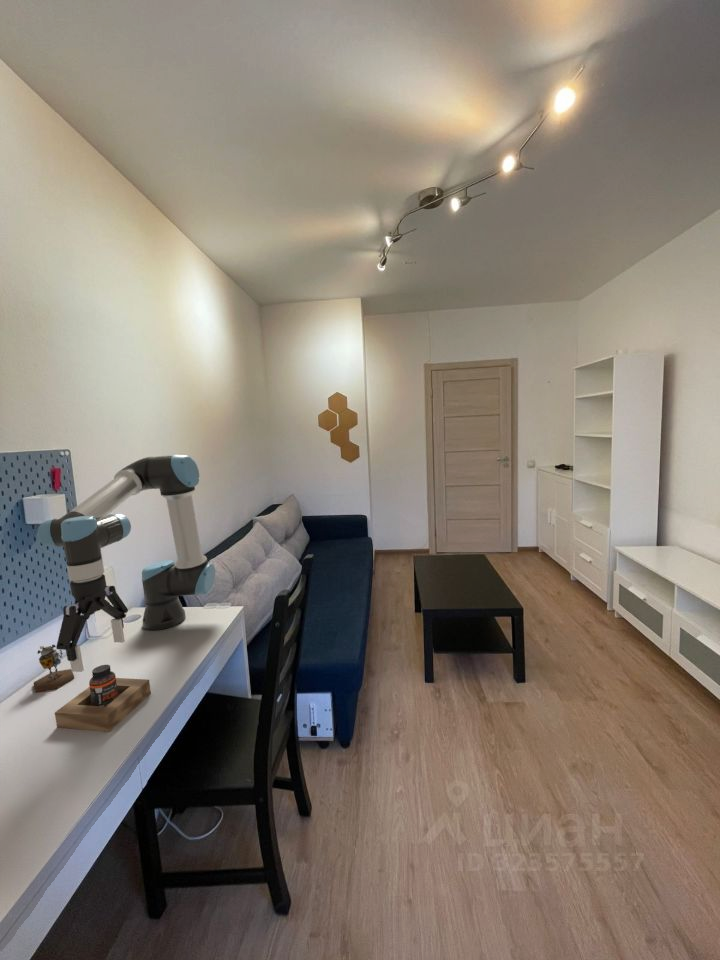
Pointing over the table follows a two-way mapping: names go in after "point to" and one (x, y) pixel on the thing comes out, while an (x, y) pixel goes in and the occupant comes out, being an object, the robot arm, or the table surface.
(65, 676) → the robot figurine
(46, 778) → the table surface
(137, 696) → the socket block
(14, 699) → the table surface
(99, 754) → the table surface
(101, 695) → the supplement bottle
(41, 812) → the table surface
